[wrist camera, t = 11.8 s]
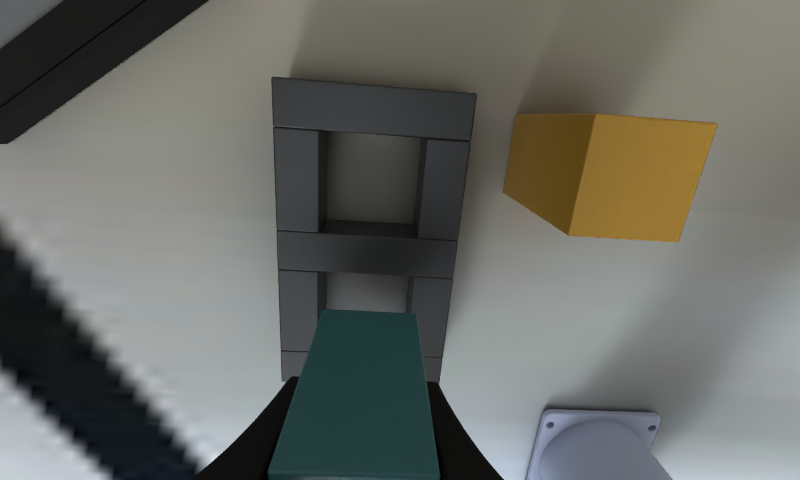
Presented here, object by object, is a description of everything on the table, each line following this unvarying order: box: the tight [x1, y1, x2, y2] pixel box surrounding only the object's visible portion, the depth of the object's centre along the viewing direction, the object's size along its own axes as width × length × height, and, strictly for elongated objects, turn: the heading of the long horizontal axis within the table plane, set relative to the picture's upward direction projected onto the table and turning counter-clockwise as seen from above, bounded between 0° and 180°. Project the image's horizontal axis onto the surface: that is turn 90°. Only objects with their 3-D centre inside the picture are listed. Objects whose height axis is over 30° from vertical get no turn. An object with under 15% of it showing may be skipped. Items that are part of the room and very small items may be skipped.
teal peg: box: [267, 309, 440, 480], centre depth 13 cm, size 4×4×8 cm
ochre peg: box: [503, 113, 717, 242], centre depth 16 cm, size 4×4×8 cm
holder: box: [271, 77, 477, 384], centre depth 19 cm, size 15×9×2 cm, turn 176°
